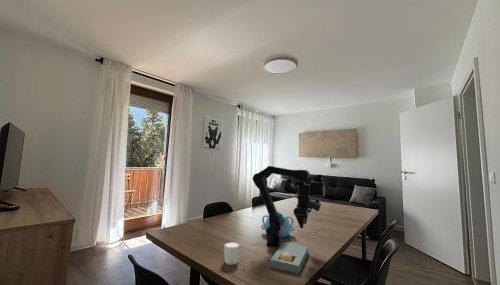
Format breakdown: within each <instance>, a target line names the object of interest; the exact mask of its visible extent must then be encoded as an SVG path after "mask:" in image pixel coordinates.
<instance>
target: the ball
mask: <svg viewBox="0 0 500 285" xmlns="http://www.w3.org/2000/svg"><path fill="white" fill-rule="evenodd" d="M280 260H284V261H288V262H292V257H291V255H290V254H288V253H283V254H282V255H281V258H280Z"/></svg>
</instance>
